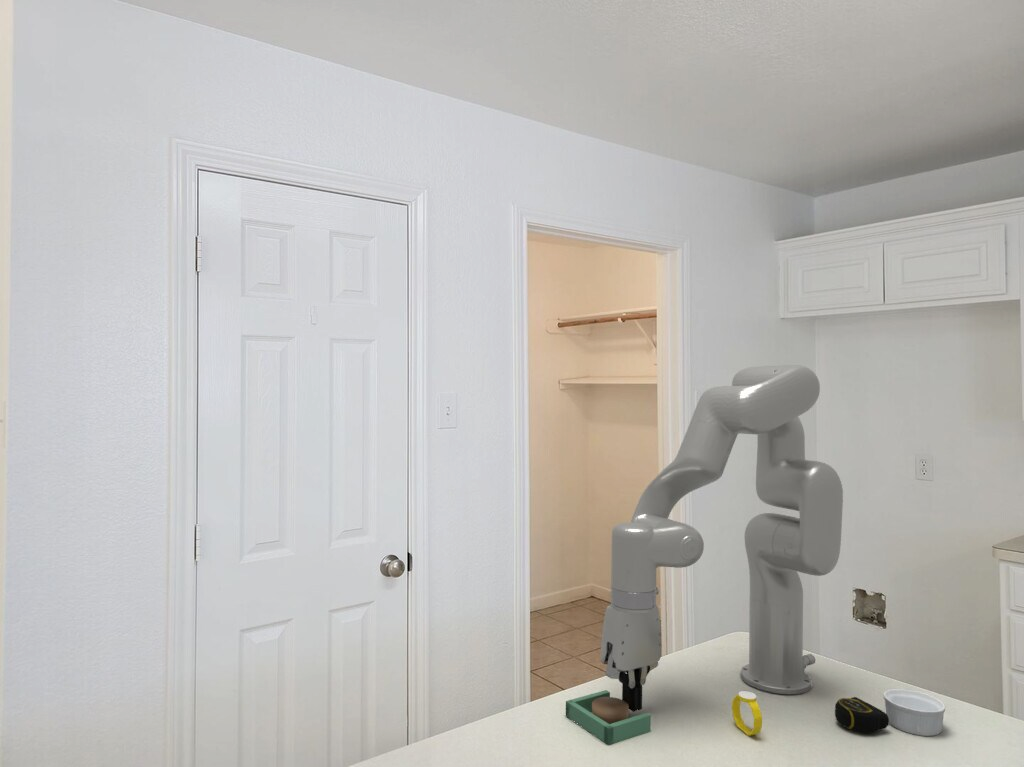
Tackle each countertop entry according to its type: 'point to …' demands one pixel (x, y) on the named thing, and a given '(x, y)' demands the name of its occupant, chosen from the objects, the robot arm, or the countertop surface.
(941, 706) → the ramekin
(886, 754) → the countertop surface
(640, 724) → the green u-shaped frame
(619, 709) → the puck
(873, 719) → the tape measure
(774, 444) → the robot arm
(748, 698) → the watch
